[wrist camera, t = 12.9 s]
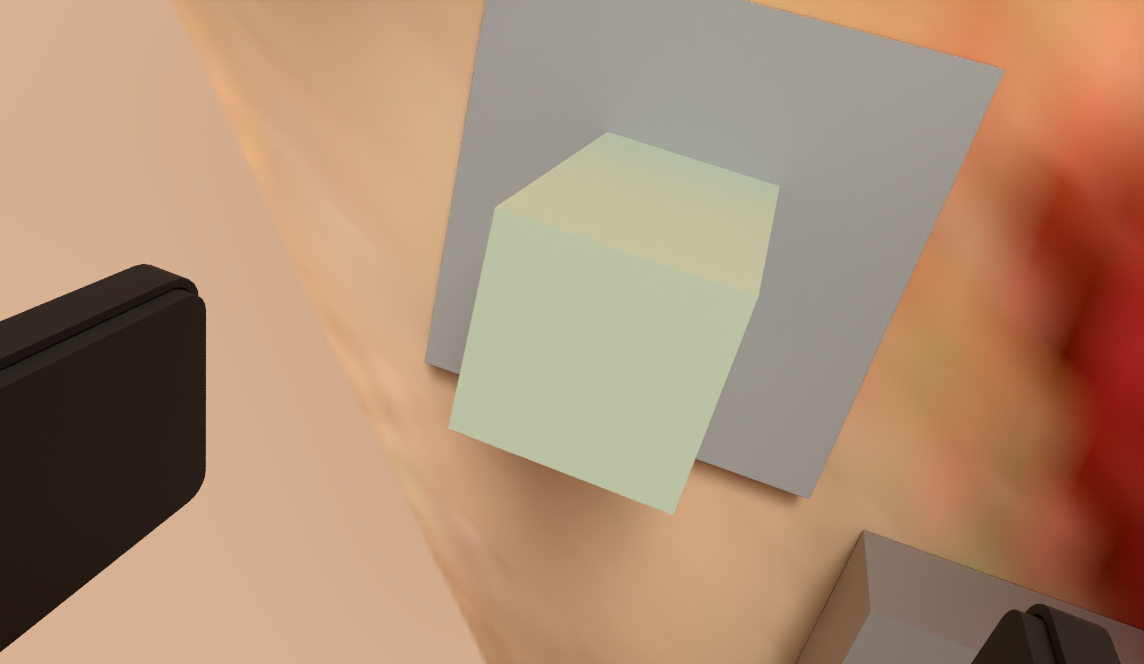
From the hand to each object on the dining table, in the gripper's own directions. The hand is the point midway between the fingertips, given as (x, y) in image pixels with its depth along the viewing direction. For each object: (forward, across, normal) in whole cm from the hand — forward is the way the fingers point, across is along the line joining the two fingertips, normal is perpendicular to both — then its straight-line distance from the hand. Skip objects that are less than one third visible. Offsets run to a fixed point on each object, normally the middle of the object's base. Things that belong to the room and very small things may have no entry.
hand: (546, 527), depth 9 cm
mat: (+14, +1, +1) cm, 14 cm away
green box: (+13, +1, +1) cm, 13 cm away
